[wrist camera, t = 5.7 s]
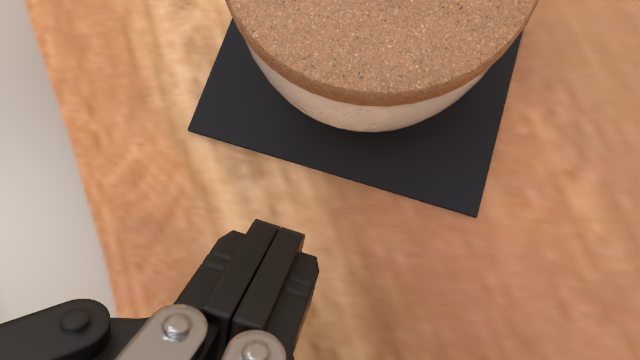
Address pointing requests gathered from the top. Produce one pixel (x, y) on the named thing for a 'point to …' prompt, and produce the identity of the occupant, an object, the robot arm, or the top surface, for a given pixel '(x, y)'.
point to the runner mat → (360, 147)
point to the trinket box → (377, 54)
